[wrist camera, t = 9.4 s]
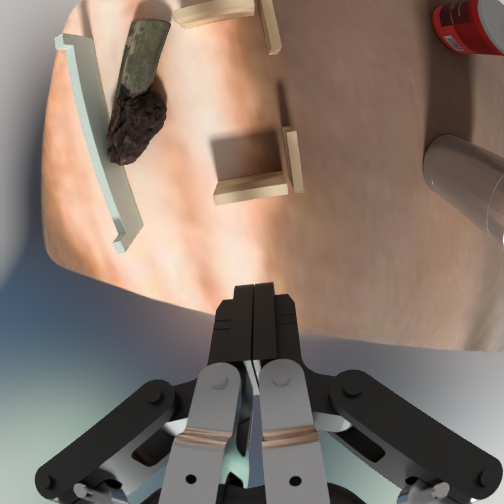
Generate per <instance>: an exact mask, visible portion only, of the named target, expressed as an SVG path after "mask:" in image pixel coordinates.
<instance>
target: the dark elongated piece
mask: <svg viewBox="0 0 504 504" xmlns="http://www.w3.org/2000/svg"><path fill="white" fill-rule="evenodd" d="M170 27H171V24H170V23H169V22H166V21H162V20H158V19H143V20H135V21H132V23H131V26H130V30H129V34H128V38H127V42H126V45H125V50H124V55H123V59H122V63H121V68H120V74H119V79H118V85H117V91H116V97H115V102H114V108H113V111H112V115H111V120H110V124H109V127H108V134H107V135H106V141H107V142H108V144H109V145H110V147H109V148H108V153H107V154H108V155H109V156H110V162H111V163H115V164H118V165H119V166H123V165H128V164H130V163H133V162H135V161H136V159H137V158H138V157H139V156H140V155H141V154H142V153H143V151H144V150H145V149H146V148H147V145H148V144H149V141H150V140H151V139H152V138H153V136H154V135H156V134H157V133H158V132H159V131H160V130H161V129H162V127H163V125H164V121H165V119H166V111H167V108H166V105H165V103H164V101H163V100H162V99H161V96H160V94H159V93H158V92H156V91H155V90H152V89H151V87H150V86H151V85H152V84H153V81H154V78H155V74H156V70H157V66H158V62H159V59H160V55H161V52H162V49H163V46H164V43H165V40H166V37H167V34H168V32H169V29H170Z"/></svg>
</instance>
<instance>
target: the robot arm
mask: <svg viewBox="0 0 504 504" xmlns="http://www.w3.org/2000/svg"><path fill="white" fill-rule="evenodd" d="M423 172H424V177H425V180H426V182H427V184H428V186H429V187H430V188H431V189H432V190H433V191H434V192H436V193H437V194H438V195H440V196H441V197H442V198H444V199H445V200H446V201H447V202H449V203H450V204H451V205H452V206H454V207H455V208H456V209H457V210H459V211H460V212H461V213H462V214H463V215H465V216H466V217H467V218H468V219H469V220H471V221H472V222H473V223H474V224H475V225H476V226H477V227H479V228H480V229H481V230H482V231H483V232H484V233H485V234H486V235H487V236H489V237H490V238H491V239H492V240H493V241H494V242H495V243H496V244H497V245H498V246H499V247H500V248H501V249H502V250H503V251H504V158H502V157H500V156H498V155H496V154H494V153H492V152H490V151H488V150H486V149H484V148H482V147H479V146H477V145H475V144H472V143H470V142H468V141H465V140H463V139H460V138H458V137H455V136H453V135H442V136H439V137H438V138H436V139H435V140H434V141H433V142H432V143H431V144H430V146H429V147H428V149H427V151H426V154H425V157H424V163H423ZM213 330H214V331H213V334H212V340H211V347H210V353H209V360H208V365H207V367H206V368H204V369H203V370H202V371H201V373H200V374H199V376H198V378H196V379H195V380H193V381H190V382H187V383H183V384H179V385H176V386H171V385H170V384H169V383H168V382H166V381H164V380H152V381H149V382H147V383H145V384H144V385H143V386H141V387H140V388H139V389H138V390H137V391H136V392H134V393H133V394H132V395H131V396H130V397H128V398H127V399H126V400H125V401H124V402H122V403H121V404H120V405H119V406H117V407H116V408H115V409H114V410H113V411H111V412H110V413H109V414H108V415H106V416H105V417H104V418H103V419H101V420H100V421H99V422H98V423H96V424H95V425H94V426H93V427H92V428H90V429H89V430H88V431H87V432H85V433H84V434H83V435H81V436H80V437H79V438H78V439H76V440H75V441H74V442H73V443H71V444H70V445H69V446H67V447H66V448H65V449H64V450H62V451H61V452H60V453H58V454H57V455H56V456H54V457H53V458H52V459H51V460H49V461H48V462H47V463H45V464H44V465H43V466H41V467H40V468H39V469H38V470H37V472H36V475H35V485H36V488H37V490H38V492H39V493H40V494H41V496H43V497H44V498H46V499H49V500H51V501H54V502H57V503H59V504H130V503H129V501H128V499H127V495H128V494H130V493H131V492H132V491H134V490H135V489H136V488H138V487H139V486H140V485H141V484H143V483H144V482H145V481H146V480H148V479H149V478H150V477H151V476H152V475H154V474H155V473H156V472H157V471H159V470H160V469H161V468H162V467H163V466H165V465H166V464H167V463H168V465H167V469H166V473H165V477H164V481H163V486H162V488H160V489H158V490H157V491H155V492H154V493H153V494H151V495H150V496H149V497H148V498H147V499H145V500H144V501H143V502H142V503H141V504H366V503H365V502H364V501H362V500H361V499H360V498H359V497H358V496H357V495H355V494H354V493H352V492H351V491H349V490H348V489H346V488H344V487H341V486H339V485H336V484H333V483H328V482H327V481H326V475H325V469H324V464H323V458H322V453H321V447H320V442H319V437H318V434H317V431H316V430H315V429H319V430H325V431H327V432H328V433H329V434H330V435H331V436H332V437H333V438H335V439H336V440H337V441H338V442H340V443H341V444H342V445H343V446H345V447H346V448H347V449H348V450H349V451H351V452H352V453H353V454H354V455H356V456H357V457H358V458H360V459H361V460H362V461H364V462H365V463H366V464H368V465H369V466H370V467H371V468H373V469H374V470H375V471H377V472H378V473H379V474H381V475H382V476H384V477H385V478H386V479H388V480H389V481H391V482H392V483H393V484H395V485H396V486H398V487H399V488H401V489H402V491H401V492H400V494H399V496H398V498H397V504H472V503H473V502H476V501H479V500H482V499H485V498H487V497H489V496H490V495H492V494H493V493H494V492H495V491H496V489H497V488H498V486H499V485H500V482H501V480H502V475H503V469H502V465H501V463H500V461H499V460H498V459H496V458H495V457H493V456H492V455H490V454H488V453H487V452H485V451H483V450H481V449H480V448H478V447H477V446H475V445H474V444H472V443H470V442H469V441H467V440H466V439H464V438H462V437H461V436H459V435H457V434H456V433H454V432H453V431H451V430H450V429H448V428H447V427H445V426H443V425H442V424H441V423H439V422H437V421H436V420H434V419H433V418H431V417H430V416H428V415H427V414H425V413H424V412H422V411H421V410H419V409H418V408H416V407H415V406H413V405H412V404H410V403H409V402H407V401H406V400H404V399H403V398H401V397H400V396H398V395H397V394H396V393H394V392H393V391H391V390H389V389H388V388H387V387H385V386H384V385H383V384H381V383H380V382H378V381H377V380H375V379H374V378H372V377H371V376H370V375H368V374H367V373H365V372H363V371H360V370H347V371H344V372H341V373H340V374H338V375H337V376H336V377H335V376H329V375H322V374H318V373H315V372H313V371H311V370H310V369H308V368H307V367H306V366H305V365H304V363H303V361H302V358H301V351H300V342H299V334H298V325H297V318H296V310H295V303H294V301H293V300H292V299H291V297H290V296H289V295H288V294H282V295H275V291H274V283H273V282H269V283H260V284H255V287H254V284H250V285H240V286H235V288H234V297H233V299H229V300H223V301H222V302H221V304H220V305H219V307H218V308H217V310H216V315H215V323H214V328H213ZM253 395H260V404H261V416H262V429H263V439H262V454H263V465H264V478H265V485H262V486H258V487H254V488H249V489H248V488H247V486H248V477H249V463H248V454H249V446H250V437H251V428H252V420H253Z"/></svg>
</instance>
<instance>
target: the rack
mask: <svg viewBox="0 0 504 504" xmlns="http://www.w3.org/2000/svg"><path fill="white" fill-rule="evenodd" d="M55 47H56V49H57V50H66V55H67V61H68V67H69V73H70V78H71V83H72V88H73V93H74V97H75V102H76V106H77V110H78V114H79V118H80V122H81V126H82V130H83V133H84V137H85V140H86V144H87V147H88V151H89V154H90V157H91V160H92V163H93V167H94V170H95V173H96V176H97V179H98V181H99V184H100V187H101V190H102V193H103V195H104V198H105V201H106V204H107V206H108V209H109V211H110V214H111V217H112V219H113V222H114V224H115V226H116V229H117V231H118V234H119V235H118V236H117V238H116V239H115V240H114V241H113V245H114V247H115V249H116V252H117V254H119V253H124V252H126V251H127V249H128V248H129V246H130V245H131V243H132V242H133V240H134V239H135V237H136V236H137V234H138V233H139V231H140V230H141V228H142V227H143V226H144V225H143V222H142V220H141V217H140V214H139V211H138V209H137V206H136V203H135V200H134V197H133V194H132V191H131V188H130V185H129V182H128V179H127V176H126V173H125V170H124V167H123V166H119V165H118V164H115V163H111V162H110V156H109V155H108V154H107V153H108V148H109V147H110V145H109V144H108V142H107V141H106V135H107V134H108V127H109V124H110V118H109V114H108V110H107V106H106V102H105V97H104V93H103V89H102V84H101V79H100V74H99V70H98V64H97V59H96V53H95V48H94V41H93V38H89V37H83V36H78V35H71V34H65V33H62V34H60V35H59V36H58V37H56V38H55Z"/></svg>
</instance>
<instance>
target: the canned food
mask: <svg viewBox="0 0 504 504" xmlns="http://www.w3.org/2000/svg"><path fill="white" fill-rule="evenodd" d="M432 24H433V28H434V30H435V32H436V34H437V36H438V37H439V39H440V40H441V41H442V42H443V43H444V44H445V45H446V46H447V47H448V48H450V49H451V50H453V51H456V52H458V53H462V54H488V55H502V56H504V5H503V4H502V3H501V2H500V1H498V0H462V1H457V2H453V3H449V4H445V5H442V6H439V7H437V8H436V9H435V10H434V12H433V14H432Z"/></svg>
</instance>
